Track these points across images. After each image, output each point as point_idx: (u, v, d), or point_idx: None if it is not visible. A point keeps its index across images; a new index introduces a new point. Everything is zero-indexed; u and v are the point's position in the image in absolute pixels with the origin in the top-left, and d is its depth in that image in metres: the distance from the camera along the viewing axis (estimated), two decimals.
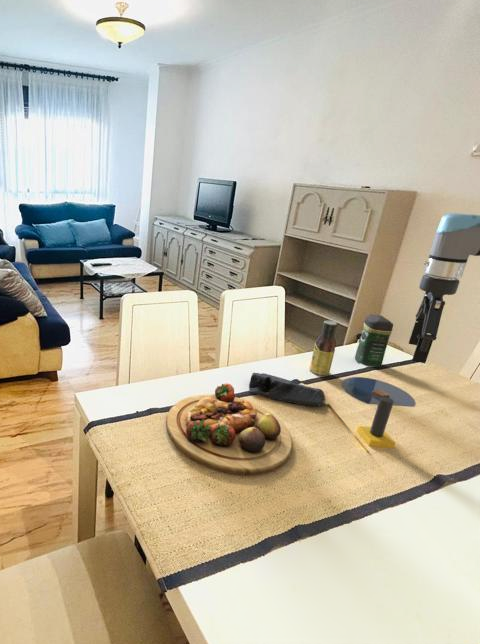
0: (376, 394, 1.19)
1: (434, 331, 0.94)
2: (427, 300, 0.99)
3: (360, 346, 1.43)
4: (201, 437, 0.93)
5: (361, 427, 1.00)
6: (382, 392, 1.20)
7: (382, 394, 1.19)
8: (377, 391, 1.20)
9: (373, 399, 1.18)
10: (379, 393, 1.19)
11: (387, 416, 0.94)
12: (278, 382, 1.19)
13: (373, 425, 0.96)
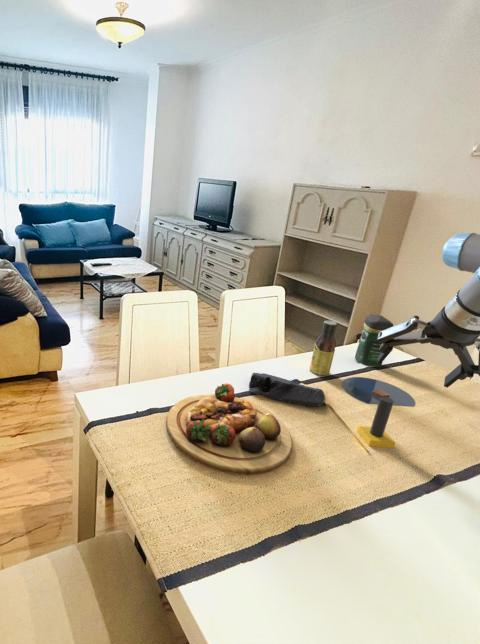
0: (376, 394, 1.19)
1: None
2: (458, 343, 0.77)
3: (360, 346, 1.43)
4: (201, 437, 0.93)
5: (361, 427, 1.00)
6: (382, 392, 1.20)
7: (382, 394, 1.19)
8: (377, 391, 1.20)
9: (373, 399, 1.18)
10: (379, 393, 1.19)
11: (387, 416, 0.94)
12: (278, 382, 1.19)
13: (373, 425, 0.96)
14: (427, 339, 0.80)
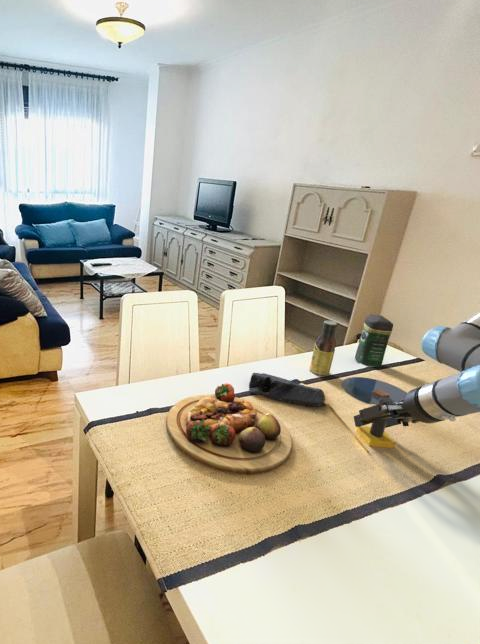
0: (376, 394, 1.19)
1: None
2: None
3: (360, 346, 1.43)
4: (201, 437, 0.93)
5: (361, 427, 1.00)
6: (382, 392, 1.20)
7: (382, 394, 1.19)
8: (377, 391, 1.20)
9: (373, 399, 1.18)
10: (379, 393, 1.19)
11: None
12: (278, 382, 1.19)
13: (373, 425, 0.96)
14: (400, 417, 0.86)
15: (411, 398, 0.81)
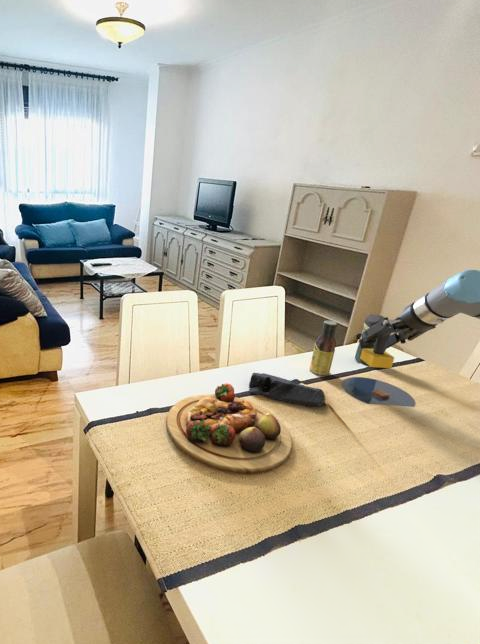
0: (376, 394, 1.19)
1: None
2: None
3: (360, 346, 1.43)
4: (201, 437, 0.93)
5: (365, 349, 1.18)
6: (382, 392, 1.20)
7: (382, 394, 1.19)
8: (377, 391, 1.20)
9: (373, 399, 1.18)
10: (379, 393, 1.19)
11: (387, 335, 1.13)
12: (278, 382, 1.19)
13: (376, 345, 1.15)
14: (399, 330, 1.05)
15: (408, 310, 1.00)
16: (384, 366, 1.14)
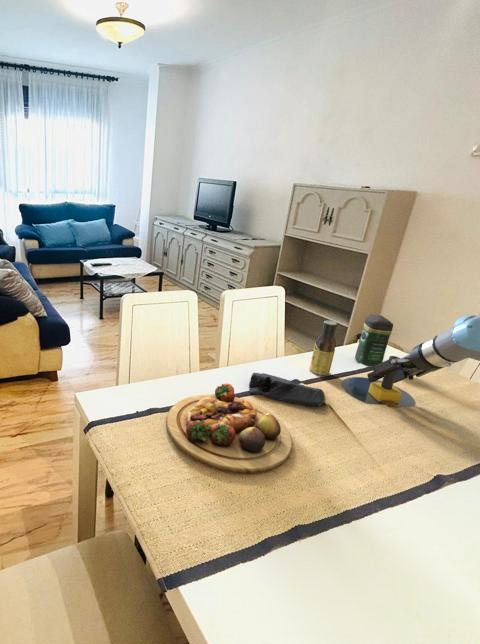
0: (384, 403, 1.14)
1: None
2: None
3: (360, 346, 1.43)
4: (201, 437, 0.93)
5: (373, 383, 1.20)
6: (392, 403, 1.14)
7: (390, 404, 1.13)
8: (387, 401, 1.15)
9: (373, 399, 1.18)
10: (387, 403, 1.14)
11: None
12: (278, 382, 1.19)
13: (384, 380, 1.16)
14: (407, 369, 1.06)
15: (416, 351, 1.01)
16: None
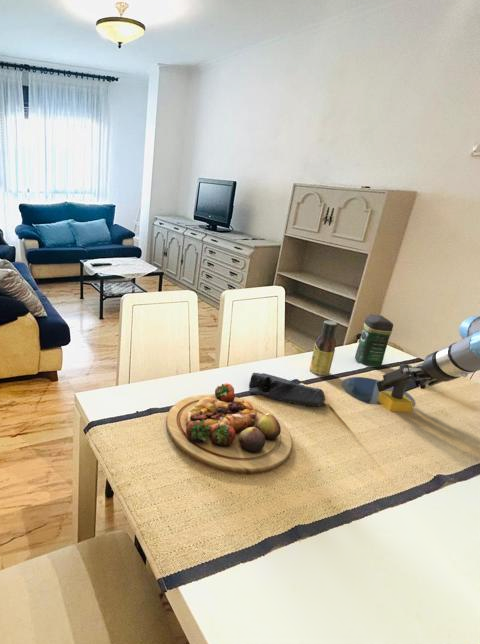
0: None
1: None
2: None
3: (360, 346, 1.43)
4: (201, 437, 0.93)
5: (383, 391, 1.15)
6: None
7: None
8: None
9: (373, 399, 1.18)
10: None
11: None
12: (278, 382, 1.19)
13: (394, 389, 1.12)
14: (419, 378, 1.01)
15: (429, 360, 0.96)
16: None
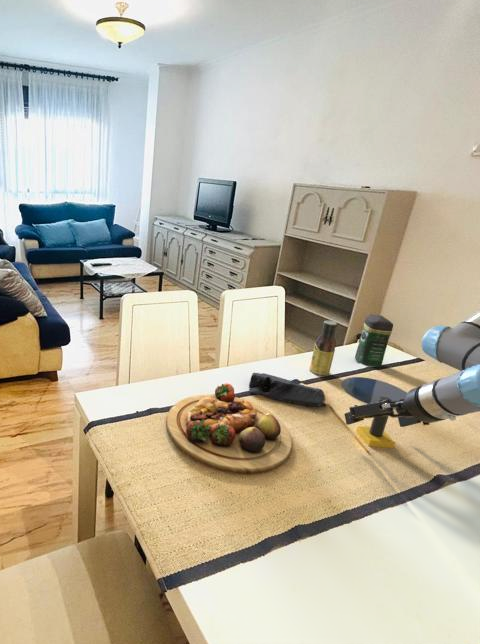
0: None
1: None
2: None
3: (360, 346, 1.43)
4: (201, 437, 0.93)
5: (360, 427, 1.00)
6: None
7: None
8: None
9: (373, 399, 1.18)
10: None
11: (386, 416, 0.94)
12: (278, 382, 1.19)
13: (372, 425, 0.96)
14: (399, 416, 0.86)
15: (411, 397, 0.81)
16: None
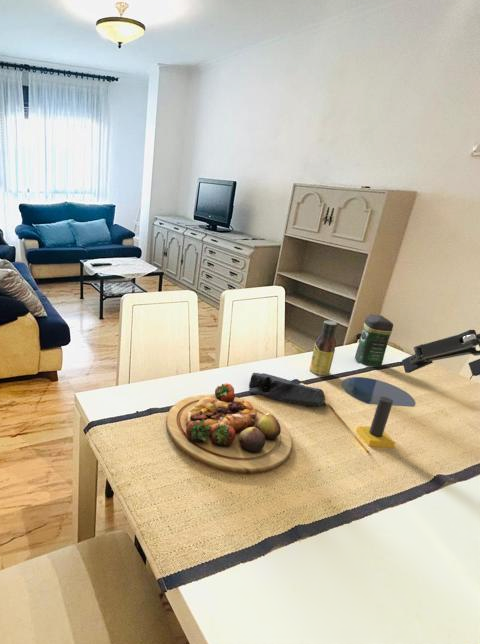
0: None
1: None
2: None
3: (360, 346, 1.43)
4: (201, 437, 0.93)
5: (360, 427, 1.00)
6: None
7: None
8: None
9: (373, 399, 1.18)
10: None
11: (386, 416, 0.94)
12: (278, 382, 1.19)
13: (372, 425, 0.96)
14: None
15: None
16: None
